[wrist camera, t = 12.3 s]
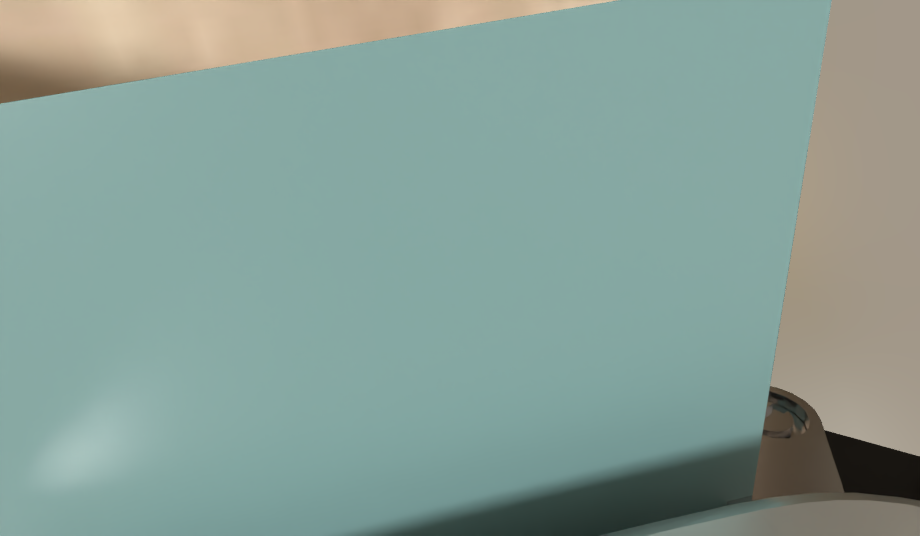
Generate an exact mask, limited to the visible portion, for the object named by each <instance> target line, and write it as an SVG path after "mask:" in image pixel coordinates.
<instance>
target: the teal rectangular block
mask: <svg viewBox="0 0 920 536" xmlns="http://www.w3.org/2000/svg"><path fill="white" fill-rule="evenodd" d="M831 1H832V0H618V1H612V2H606V3H600V4H594V5H588V6H582V7H576V8H570V9H564V10H558V11H552V12H546V13H540V14H534V15H528V16H522V17H516V18H510V19H504V20H498V21H492V22H486V23H480V24H474V25H468V26H462V27H456V28H450V29H444V30H439V31H433V32H427V33H421V34H415V35H409V36H403V37H397V38H391V39H385V40H379V41H373V42H367V43H361V44H355V45H349V46H343V47H337V48H331V49H325V50H319V51H313V52H307V53H301V54H295V55H289V56H283V57H277V58H271V59H265V60H259V61H253V62H247V63H241V64H235V65H229V66H223V67H217V68H211V69H205V70H199V71H193V72H187V73H181V74H175V75H169V76H163V77H157V78H151V79H145V80H139V81H133V82H127V83H121V84H115V85H109V86H103V87H97V88H91V89H85V90H79V91H73V92H67V93H61V94H55V95H49V96H43V97H37V98H31V99H25V100H19V101H14V102H8V103H2V104H0V536H600V535H604V534H608V533H612V532H616V531H620V530H624V529H628V528H632V527H636V526H640V525H645V524H649V523H653V522H658V521H662V520H666V519H671V518H675V517H679V516H684V515H688V514H692V513H697V512H701V511H706V510H710V509H714V508H719V507H723V506H726V505H727V501H731V500H735V499H739V498H743V497H747V496H751V495H753V489H754V482H755V476H756V470H757V464H758V457H759V451H760V445H761V439H762V432H763V426H764V420H765V414H766V407H767V401H768V395H769V389H770V382H771V375H772V370H773V363H774V357H775V350H776V345H777V339H778V332H779V326H780V320H781V313H782V307H783V301H784V295H785V289H786V282H787V276H788V270H789V264H790V257H791V251H792V245H793V238H794V232H795V226H796V220H797V213H798V207H799V201H800V195H801V188H802V182H803V176H804V169H805V163H806V157H807V151H808V144H809V139H810V132H811V126H812V120H813V114H814V107H815V100H816V95H817V89H818V82H819V76H820V69H821V64H822V57H823V51H824V45H825V39H826V32H827V25H828V19H829V14H830V7H831Z"/></svg>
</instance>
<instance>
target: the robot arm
mask: <svg viewBox="0 0 920 536" xmlns="http://www.w3.org/2000/svg"><path fill="white" fill-rule="evenodd" d="M600 536H920V456H916V455H912V454H908V453H905V452H901V451H897V450H894V449H891V448H887V447H883V446H880V445H876V444H872V443H869V442H865V441H861V440H858V439H854V438H851V437H847V436H843V435H840V434H836V433H832V432H829V431H825V430H824V428H823V425H822V422H821V420H820V418H819V416H818V414H817V413H816V411H815V410H814V409H813V408H812V407H811V406H810V405H809V404H808V403H807V402H806V401H804V400H803V399H801V398H799V397H797V396H796V395H794V394H792V393H790V392H787V391H785V390H782V389H779V388H776V387H771V386H770V389H769V395H768V401H767V407H766V414H765V420H764V426H763V432H762V439H761V445H760V451H759V457H758V464H757V470H756V476H755V482H754V489H753V495H751V496H747V497H743V498H739V499H735V500H731V501H727V505H726V506H723V507H719V508H714V509H710V510H706V511H701V512H697V513H692V514H688V515H684V516H679V517H675V518H671V519H666V520H662V521H658V522H653V523H649V524H645V525H640V526H636V527H632V528H628V529H624V530H620V531H616V532H612V533H608V534H604V535H600Z"/></svg>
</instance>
